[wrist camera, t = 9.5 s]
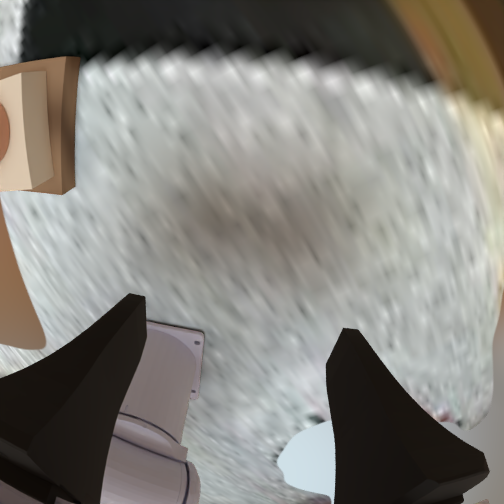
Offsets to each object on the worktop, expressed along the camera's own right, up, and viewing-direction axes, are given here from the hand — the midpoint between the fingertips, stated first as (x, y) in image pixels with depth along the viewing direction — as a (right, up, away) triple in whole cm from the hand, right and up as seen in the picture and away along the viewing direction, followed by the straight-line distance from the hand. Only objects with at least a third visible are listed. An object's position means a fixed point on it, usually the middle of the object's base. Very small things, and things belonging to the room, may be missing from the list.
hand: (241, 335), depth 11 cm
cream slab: (-16, +11, +4) cm, 20 cm away
